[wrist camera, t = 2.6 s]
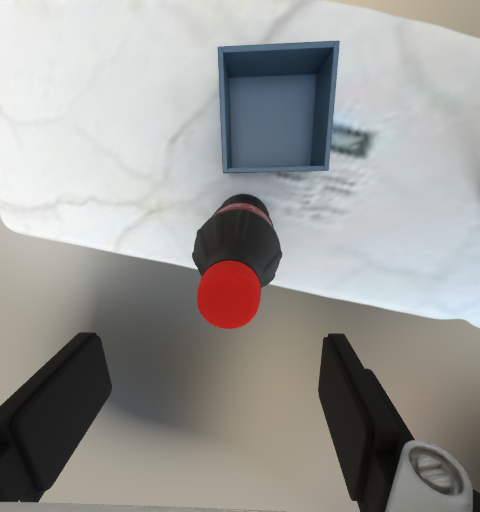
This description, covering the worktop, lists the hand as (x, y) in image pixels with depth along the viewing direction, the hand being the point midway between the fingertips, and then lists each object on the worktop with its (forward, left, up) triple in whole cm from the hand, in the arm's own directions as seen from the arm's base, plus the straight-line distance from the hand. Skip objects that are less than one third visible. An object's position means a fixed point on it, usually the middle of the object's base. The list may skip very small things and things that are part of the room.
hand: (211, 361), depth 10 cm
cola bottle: (0, 0, -35) cm, 35 cm away
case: (-5, -14, -35) cm, 38 cm away
